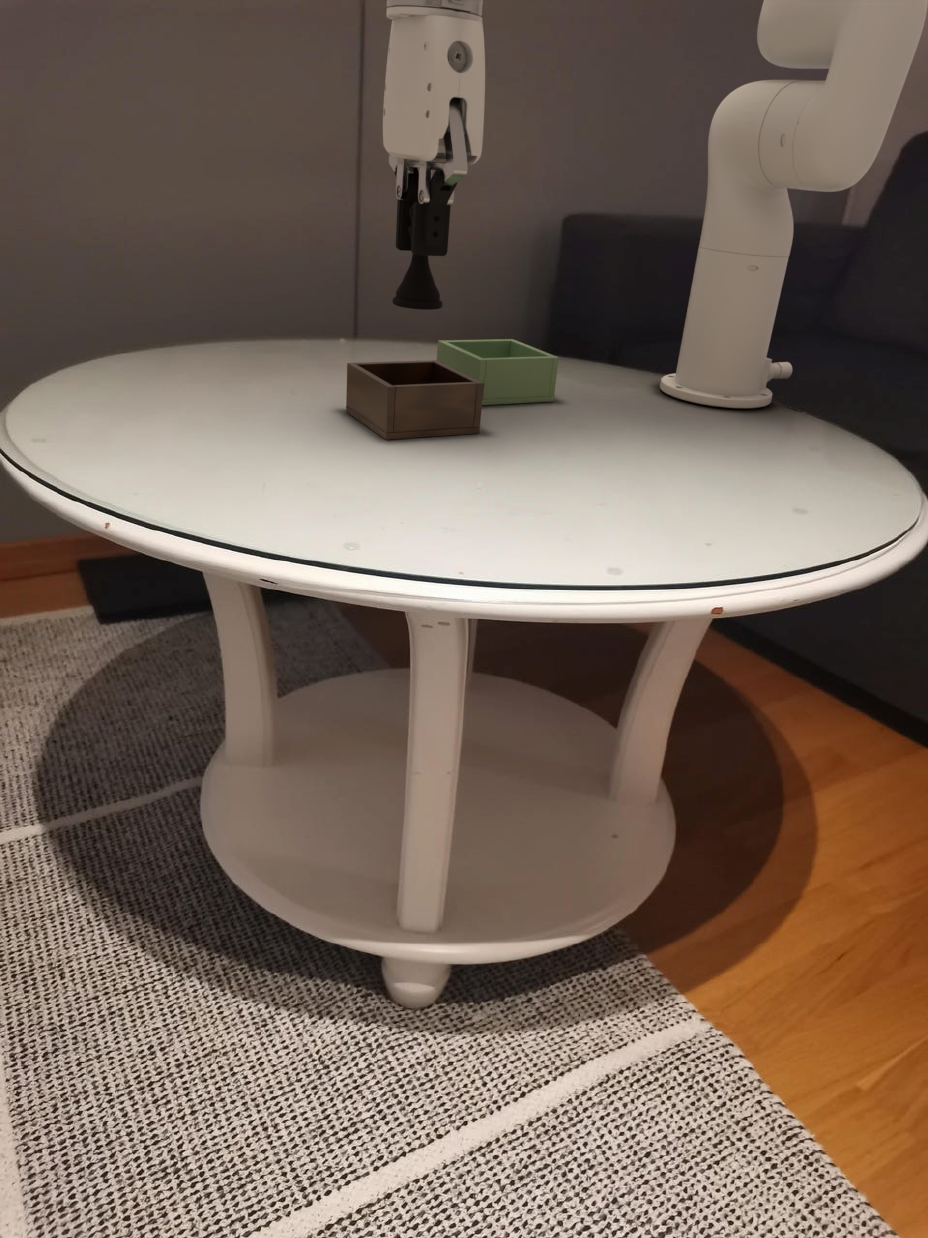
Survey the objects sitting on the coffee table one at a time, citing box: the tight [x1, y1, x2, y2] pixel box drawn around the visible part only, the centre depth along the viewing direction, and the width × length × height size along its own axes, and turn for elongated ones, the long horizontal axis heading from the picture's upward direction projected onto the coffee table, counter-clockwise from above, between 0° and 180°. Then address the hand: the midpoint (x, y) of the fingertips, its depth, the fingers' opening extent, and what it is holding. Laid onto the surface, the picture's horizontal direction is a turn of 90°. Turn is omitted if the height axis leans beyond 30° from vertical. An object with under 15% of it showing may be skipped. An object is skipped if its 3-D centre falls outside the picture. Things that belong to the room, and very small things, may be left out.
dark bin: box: [345, 359, 484, 441], centre depth 87 cm, size 9×9×5 cm
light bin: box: [436, 338, 560, 406], centre depth 100 cm, size 9×9×5 cm
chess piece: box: [392, 202, 443, 311], centre depth 81 cm, size 4×4×10 cm
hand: (421, 250), depth 81 cm, fingers closed on chess piece, 2 cm apart
